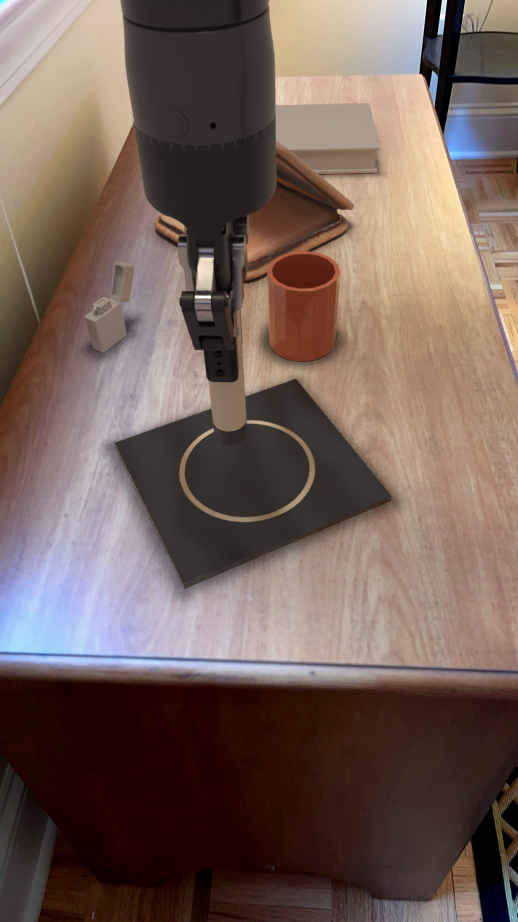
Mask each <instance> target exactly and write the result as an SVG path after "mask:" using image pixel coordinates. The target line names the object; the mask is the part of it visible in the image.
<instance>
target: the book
mask: <svg viewBox="0 0 518 922" xmlns="http://www.w3.org/2000/svg"><path fill="white" fill-rule="evenodd" d="M276 141H277V142H279V143H280V144H282V145H283V146H285V147H286V148H287V149H289V150H290V151H291V152H292V153H294V154H295V155H296V156H297V157H298V158H299V159H301V160H302V161H303V162H304V163H305V164H307V165H308V166H309V167H310V168H311V169H313V170H314V171H315V172H316V173H318V174H319V175H332V174H333V175H335V174H338V175H341V174H342V175H343V174H345V175H346V174H377V173H378V166H377V162H376V159H377V158H376V157H377V151H380V144H379V139H378V135H377V131H376V126H375V120H374V117H373V113H372V108H371V103H369V102H358V103H357V102H356V103H355V102H354V103H317V104H311V103H309V104H276Z"/></svg>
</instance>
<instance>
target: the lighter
mask: <svg viewBox="0 0 518 922" xmlns="http://www.w3.org/2000/svg"><path fill="white" fill-rule="evenodd" d="M134 272H135V265H134V264H132V263H130V262H127V261H124V260H122V261H119V260H117V261H115V262H114V263H113V270H112V276H111V277H112V279H111V286H110V293H109V298H108V297H106V296H102V297H101V298H99V299H98V300H96V301H95V302H93V303H92V310H91V311H90V312H88V313H87V314H86V315H84V319H85V323H86V327H87V331H88V335H89V338H90V343H91V346H92V349H93V350H95V351H97V352H99V353H101V354H104V353H106V352H107V351H108V350H110V349H111V348H112V347H114V346H115V345H116V344H118V343H119V342H120V341H121V340H123V339H124V338H125V337H126V336H127V335H128V332H127V328H126V324H125V318H124V313H123V309H122V304H121V303H127V302H131V301H130V300H131V294H132V293H131V292H132V287H133V279H134Z"/></svg>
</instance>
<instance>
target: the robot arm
mask: <svg viewBox="0 0 518 922" xmlns="http://www.w3.org/2000/svg"><path fill="white" fill-rule="evenodd" d="M119 2H120V9H121V13H122V16H121V17H122V23H123V24H122V25H123V41H124V42H123V44H124V45H123V46H124V48H123V49H124V50H123V51H124V66H125V74H126V81H127V87H128V93H129V99H130V100H129V101H130V106H131V112H132V120H133V127H134V133H135V139H136V146H137V152H138V159H139V165H140V171H141V177H142V178H141V179H142V184H143V190H144V194H145V195H144V196H145V198H146V200H147V201H148V203H149V204H150V206H151V207H152V208H153V209H154V210H156V211H157V213H158V212H159V213H160V214H163V215H165V216H167V217H171V218H173V219H175V220H177V221H179V222H180V223H182V224H183V225H184V231H185V235H179V236H178V243H177V252H178V253H177V254H178V262H179V265H180V266H181V267H182V269H183V271H184V282H185V290H181V294H180V297H179V298H178V299H179V300H178V302H179V307H180V310H181V314H182V316H183V319H184V322H185V326H186V329H187V331H188V334H189V335H188V336H189V338H190V340H191V344H192V346H193V349H194V351H203V358H204V359H203V360H204V370H205V377H206V379H207V381H208V380H209V381H211V382H235V381H237V380H238V375H239V363H238V347H237V336H239V328H237V311H239V310H240V316H241V317H242V308H243V304H244V300H245V289H244V288H245V287H244V286H245V285H244V282H245V281H246V280H245V279H246V277H247V268H248V256H247V243H248V240H249V230H250V224H249V215H250V214H252V213H254V212H256V211H258V210H259V209H261V208H262V207H263V206H265V205H266V204H267V203H268V202H269V201H270V199H271V198H272V196H273V194H274V192H275V189H276V105H277V102H276V99H277V98H276V59H275V56H276V55H275V46H274V39H273V32H272V31H273V30H272V24H271V12H270V0H119ZM242 323H243V322H242V321H241V333H242V334H243V326H242V325H243V324H242ZM243 341H244V339H243V338H242V345H243V344H244V343H243Z"/></svg>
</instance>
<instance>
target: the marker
mask: <svg viewBox="0 0 518 922" xmlns="http://www.w3.org/2000/svg"><path fill="white" fill-rule="evenodd" d="M241 322H242V315H241V316H240V310H239V311H237V328H239V336H237V347H238V363H239V375H238V380H237V381H235V382H211V381H209V380H208V379H207V381H208V391H209V399H210V409H212V418H213V428H214V436H215V438H216V440H217V441H218V442H220V443H222V444H225V445H235V444H238V443H240V442H242V441H243V440H244V439H245V438H246V436H247V419H246V401H245V396H246V387H245V368H244V354H243V353H244V352H243V344H242V339H243V332H242V333H241Z"/></svg>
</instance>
